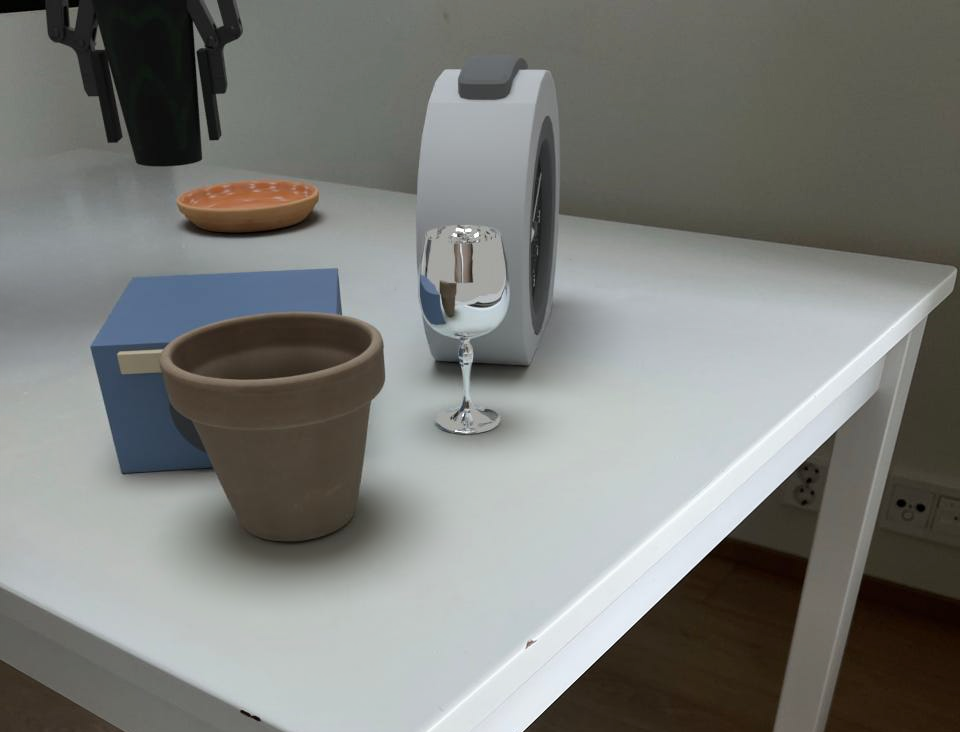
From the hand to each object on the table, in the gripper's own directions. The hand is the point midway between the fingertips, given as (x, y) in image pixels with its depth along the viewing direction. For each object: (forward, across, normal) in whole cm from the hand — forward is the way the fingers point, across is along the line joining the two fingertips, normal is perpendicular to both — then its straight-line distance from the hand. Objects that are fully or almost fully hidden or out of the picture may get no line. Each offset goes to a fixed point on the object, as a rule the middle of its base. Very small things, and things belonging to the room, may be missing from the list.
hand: (165, 138), depth 85 cm
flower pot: (+13, +11, -45) cm, 48 cm away
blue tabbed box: (+13, +7, -31) cm, 34 cm away
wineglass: (+13, +22, -33) cm, 42 cm away
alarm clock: (+13, +26, -16) cm, 33 cm away
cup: (+2, 0, 0) cm, 2 cm away
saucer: (+13, +3, +28) cm, 31 cm away
